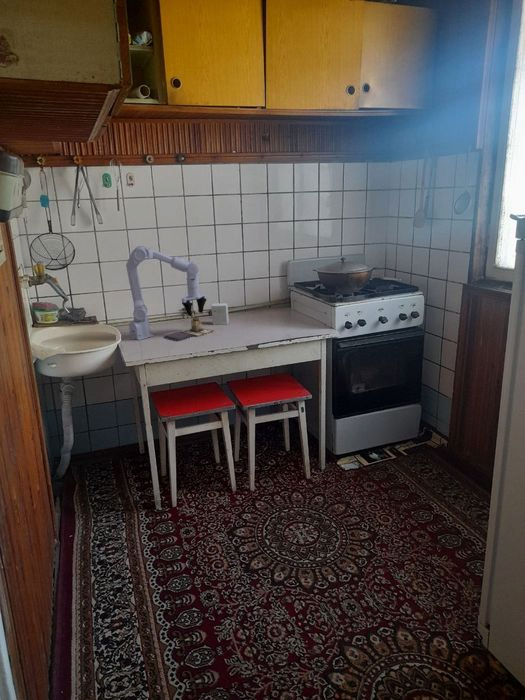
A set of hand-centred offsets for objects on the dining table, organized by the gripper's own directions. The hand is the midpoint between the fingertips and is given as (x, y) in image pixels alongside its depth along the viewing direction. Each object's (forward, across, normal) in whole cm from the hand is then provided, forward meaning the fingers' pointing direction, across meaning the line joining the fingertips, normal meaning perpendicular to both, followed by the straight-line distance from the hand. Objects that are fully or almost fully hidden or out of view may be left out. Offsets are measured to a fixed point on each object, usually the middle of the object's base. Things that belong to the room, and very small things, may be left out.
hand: (195, 314), depth 248 cm
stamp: (+9, 0, 0) cm, 9 cm away
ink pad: (+9, -12, +1) cm, 15 cm away
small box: (+10, +20, +2) cm, 22 cm away
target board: (+9, 0, 0) cm, 9 cm away
